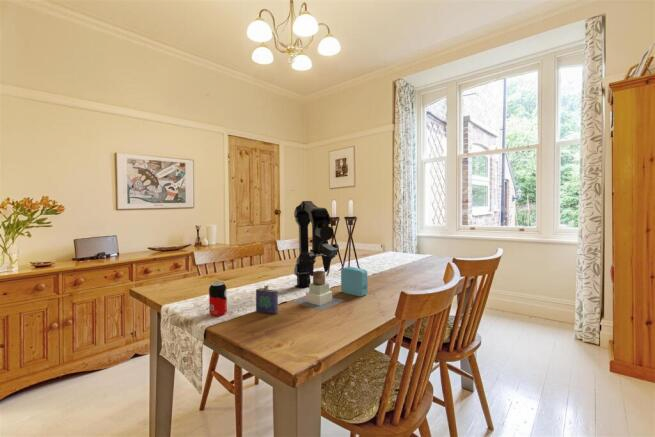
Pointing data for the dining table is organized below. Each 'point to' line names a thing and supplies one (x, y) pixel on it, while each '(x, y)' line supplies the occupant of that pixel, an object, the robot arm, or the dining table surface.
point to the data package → (354, 281)
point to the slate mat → (322, 307)
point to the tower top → (319, 288)
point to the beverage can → (217, 299)
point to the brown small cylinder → (318, 278)
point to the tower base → (319, 298)
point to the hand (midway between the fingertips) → (319, 273)
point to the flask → (266, 300)
